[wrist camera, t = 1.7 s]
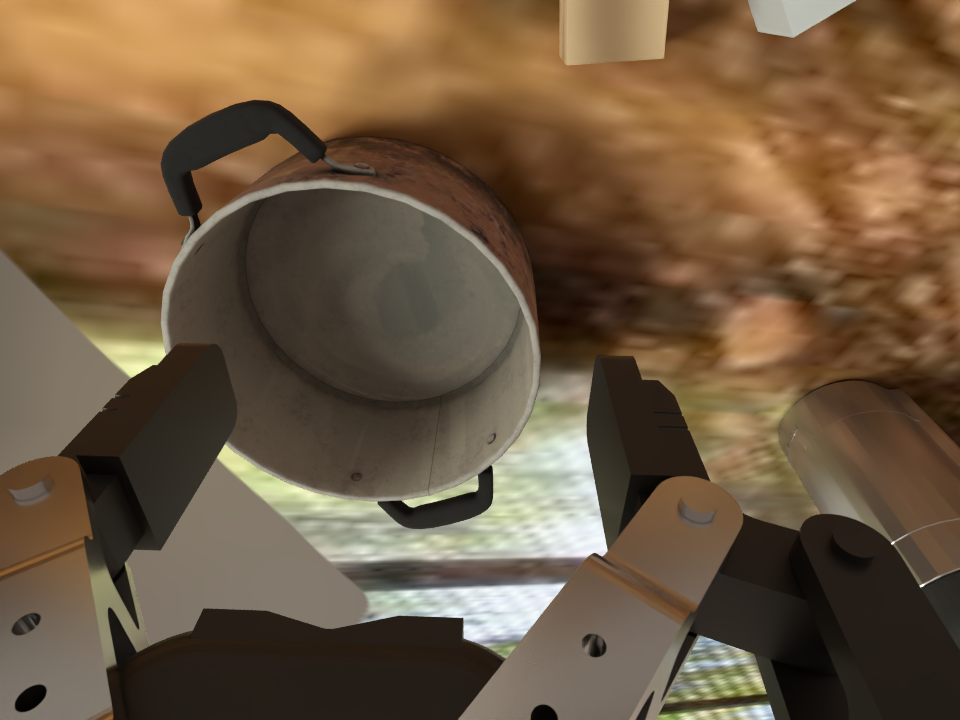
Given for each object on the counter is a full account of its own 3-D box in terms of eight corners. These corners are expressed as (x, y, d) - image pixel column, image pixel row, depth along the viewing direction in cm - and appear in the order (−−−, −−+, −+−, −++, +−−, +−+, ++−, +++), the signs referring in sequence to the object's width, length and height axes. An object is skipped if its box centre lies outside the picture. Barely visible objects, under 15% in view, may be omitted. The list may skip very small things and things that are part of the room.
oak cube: (652, -55, 31) (674, -61, 27) (644, 49, 34) (663, 58, 30) (559, -46, 32) (567, -52, 28) (559, 56, 34) (566, 65, 30)
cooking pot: (585, 399, 48) (603, 494, 39) (350, 466, 53) (319, 563, 44) (439, 8, 33) (414, 16, 24) (135, 152, 39) (21, 203, 30)
